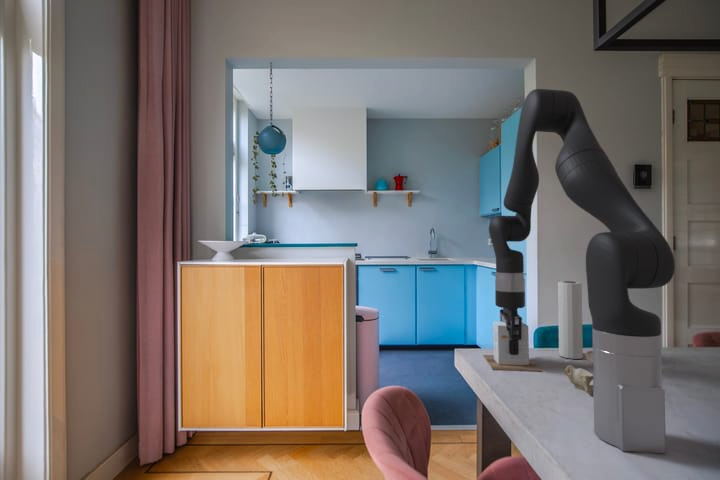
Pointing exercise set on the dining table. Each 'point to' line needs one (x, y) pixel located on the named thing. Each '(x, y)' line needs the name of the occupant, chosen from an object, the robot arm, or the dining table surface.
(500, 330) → the small box
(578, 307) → the paper towel roll
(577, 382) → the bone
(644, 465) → the dining table surface
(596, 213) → the robot arm
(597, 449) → the dining table surface
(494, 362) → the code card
